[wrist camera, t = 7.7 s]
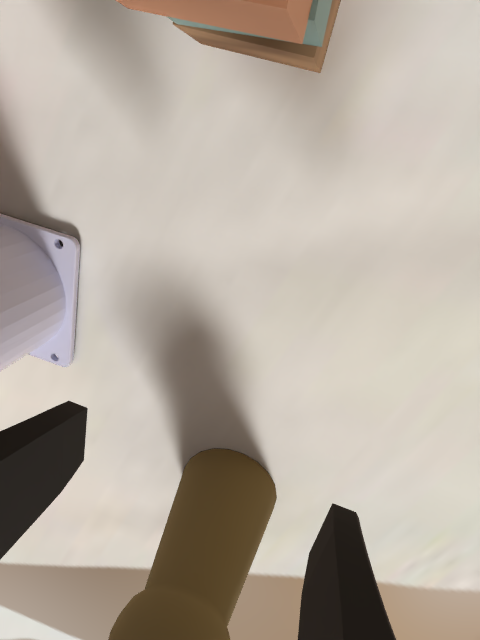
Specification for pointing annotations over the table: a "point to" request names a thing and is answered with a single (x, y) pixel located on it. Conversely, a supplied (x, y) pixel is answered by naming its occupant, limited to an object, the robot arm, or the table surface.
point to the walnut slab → (268, 44)
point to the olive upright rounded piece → (203, 551)
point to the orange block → (237, 15)
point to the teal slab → (311, 37)
